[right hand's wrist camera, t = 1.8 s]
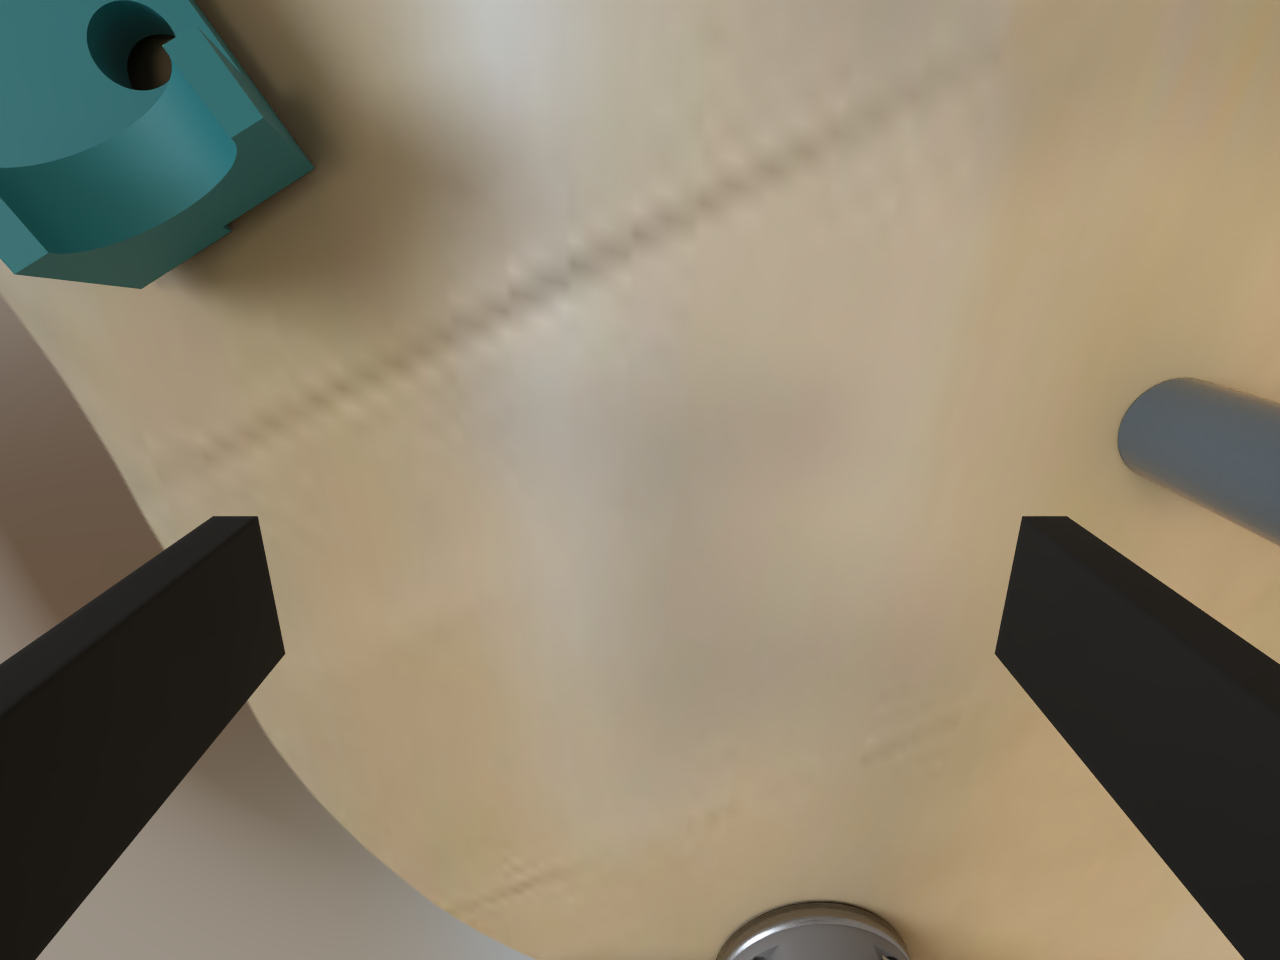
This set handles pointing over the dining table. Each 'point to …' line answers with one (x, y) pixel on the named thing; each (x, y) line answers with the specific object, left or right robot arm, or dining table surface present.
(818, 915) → the right robot arm
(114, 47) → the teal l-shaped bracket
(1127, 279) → the dining table surface
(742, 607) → the dining table surface
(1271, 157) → the dining table surface
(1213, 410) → the bottle
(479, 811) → the dining table surface
